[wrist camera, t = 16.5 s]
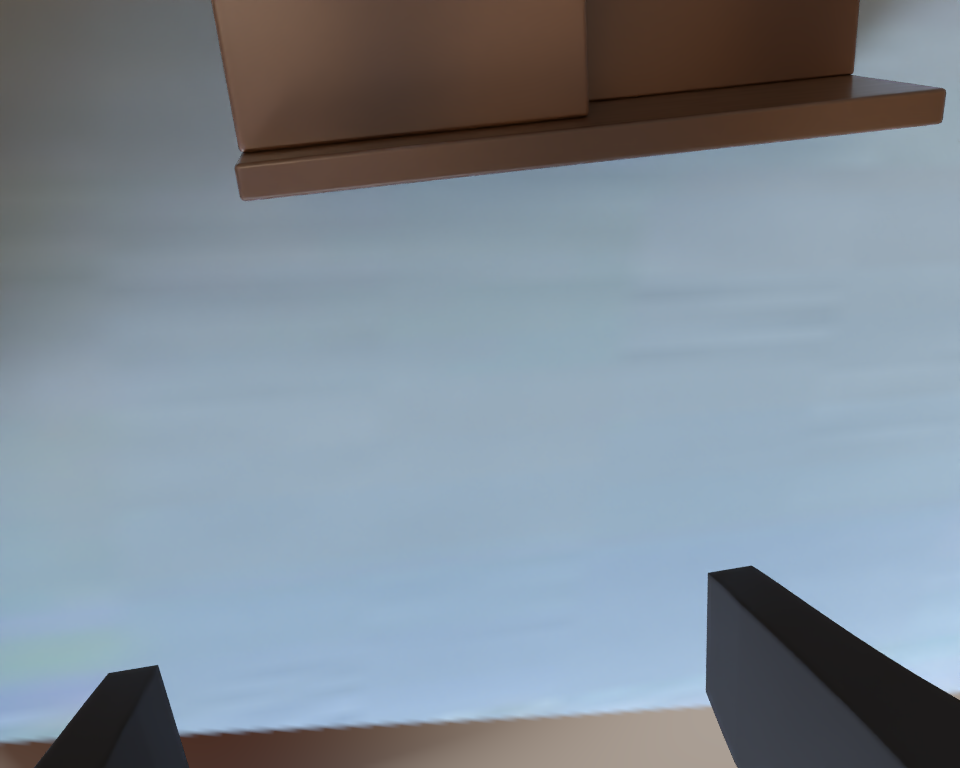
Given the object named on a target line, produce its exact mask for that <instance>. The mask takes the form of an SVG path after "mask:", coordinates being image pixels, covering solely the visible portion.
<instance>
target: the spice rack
mask: <svg viewBox="0 0 960 768" xmlns="http://www.w3.org/2000/svg"><path fill="white" fill-rule="evenodd" d="M859 2H860V0H211V3H212V8H213V14H214V19H215V24H216V30H217V35H218V40H219V46H220V51H221V56H222V62H223V67H224V72H225V78H226V83H227V88H228V94H229V99H230V105H231V110H232V115H233V121H234V126H235V131H236V137H237V142H238V147H239V150H240V151H241V152H243V153H242V154H241V156H240V158H239V160H238V161H237V163H236V165H235V173H236V178H237V184H238V189H239V194H240V198H241V199H242V200H243V201H252V200H261V199H270V198H279V197H288V196H297V195H306V194H315V193H324V192H333V191H342V190H351V189H360V188H369V187H378V186H387V185H396V184H405V183H414V182H423V181H432V180H441V179H450V178H459V177H468V176H477V175H486V174H495V173H504V172H513V171H522V170H531V169H540V168H549V167H558V166H567V165H576V164H585V163H593V162H602V161H611V160H620V159H629V158H638V157H647V156H656V155H665V154H674V153H683V152H692V151H701V150H710V149H719V148H728V147H737V146H746V145H755V144H764V143H773V142H782V141H791V140H800V139H809V138H818V137H827V136H836V135H845V134H854V133H863V132H872V131H881V130H890V129H899V128H908V127H917V126H926V125H935V124H939V123H941V122H942V120H943V113H944V105H945V97H946V90H945V89H943V88H938V87H931V86H924V85H917V84H910V83H903V82H896V81H889V80H882V79H875V78H868V77H861V76H854V75H851V74H853V72H854V61H855V49H856V38H857V26H858V14H859Z"/></svg>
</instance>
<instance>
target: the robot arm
mask: <svg viewBox="0 0 960 768" xmlns="http://www.w3.org/2000/svg"><path fill="white" fill-rule="evenodd" d="M706 693H707V696H708V698H709V701H710V703H711V706H712V708H713V711H714V713H715V716H716V718H717V721H718V723H719V726H720V728H721V731H722V733H723V736H724V738H725V740H726V743H727V745H728V748H729V750H730V752H731V755H732V757H733V759H734V762H735V764H736V765H737V767H738V768H960V700H958V699H957V698H955V697H953V696H952V695H950V694H948V693H946V692H945V691H943V690H941V689H940V688H938V687H936V686H934V685H933V684H931V683H929V682H928V681H926V680H924V679H922V678H921V677H919V676H917V675H916V674H914V673H912V672H911V671H909V670H908V669H906V668H904V667H903V666H901V665H900V664H898V663H896V662H895V661H893V660H891V659H890V658H888V657H887V656H885V655H884V654H882V653H880V652H879V651H877V650H876V649H874V648H873V647H871V646H870V645H868V644H867V643H865V642H864V641H862V640H860V639H859V638H857V637H856V636H854V635H853V634H851V633H850V632H848V631H847V630H845V629H844V628H842V627H841V626H839V625H838V624H836V623H835V622H834V621H832V620H831V619H829V618H828V617H826V616H825V615H823V614H822V613H820V612H819V611H817V610H816V609H815V608H813V607H812V606H810V605H809V604H807V603H806V602H804V601H803V600H802V599H800V598H799V597H797V596H796V595H794V594H793V593H791V592H790V591H789V590H787V589H786V588H784V587H783V586H781V585H780V584H778V583H777V582H776V581H774V580H773V579H771V578H770V577H768V576H767V575H765V574H764V573H762V572H761V571H759V570H758V569H756V568H755V567H753V566H747V567H741V568H735V569H729V570H723V571H717V572H711V573H708V600H707V658H706ZM34 768H189V766H188V763H187V760H186V756H185V753H184V750H183V746H182V743H181V740H180V736H179V733H178V730H177V726H176V723H175V720H174V717H173V713H172V710H171V707H170V703H169V700H168V697H167V693H166V690H165V687H164V683H163V680H162V677H161V674H160V670H159V667H158V665H155V666H149V667H143V668H137V669H131V670H125V671H119V672H113V673H108V675H107V676H106V677H105V678H104V680H103V681H102V682H101V683H100V685H99V686H98V687H97V688H96V689H95V691H94V692H93V693H92V694H91V696H90V697H89V698H88V699H87V701H86V702H85V703H84V704H83V706H82V707H81V708H80V710H79V711H78V712H77V713H76V715H75V716H74V717H73V719H72V720H71V721H70V722H69V724H68V725H67V726H66V728H65V729H64V730H63V731H62V733H61V734H60V735H59V737H58V738H57V739H56V740H55V742H54V743H53V744H52V746H51V747H50V748H49V750H48V751H47V752H46V753H45V755H44V756H43V757H42V758H41V760H40V761H39V762H38V764H37V765H36V766H35V767H34Z"/></svg>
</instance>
